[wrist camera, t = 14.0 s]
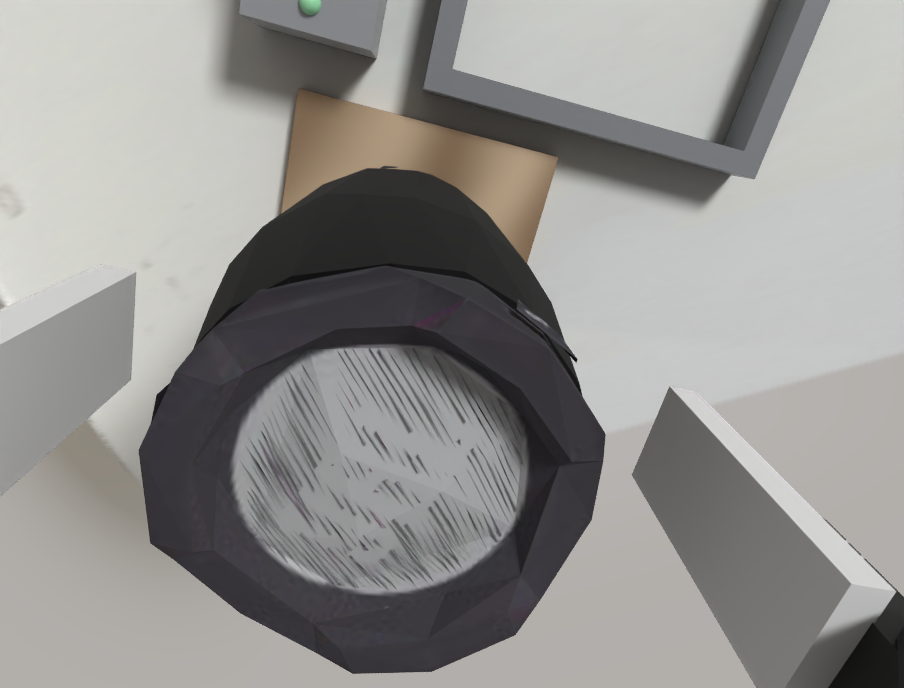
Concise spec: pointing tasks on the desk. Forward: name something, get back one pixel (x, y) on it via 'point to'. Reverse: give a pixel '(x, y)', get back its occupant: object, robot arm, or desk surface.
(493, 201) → the cork mat
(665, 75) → the desk surface
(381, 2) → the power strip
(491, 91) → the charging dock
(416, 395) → the portable speaker
